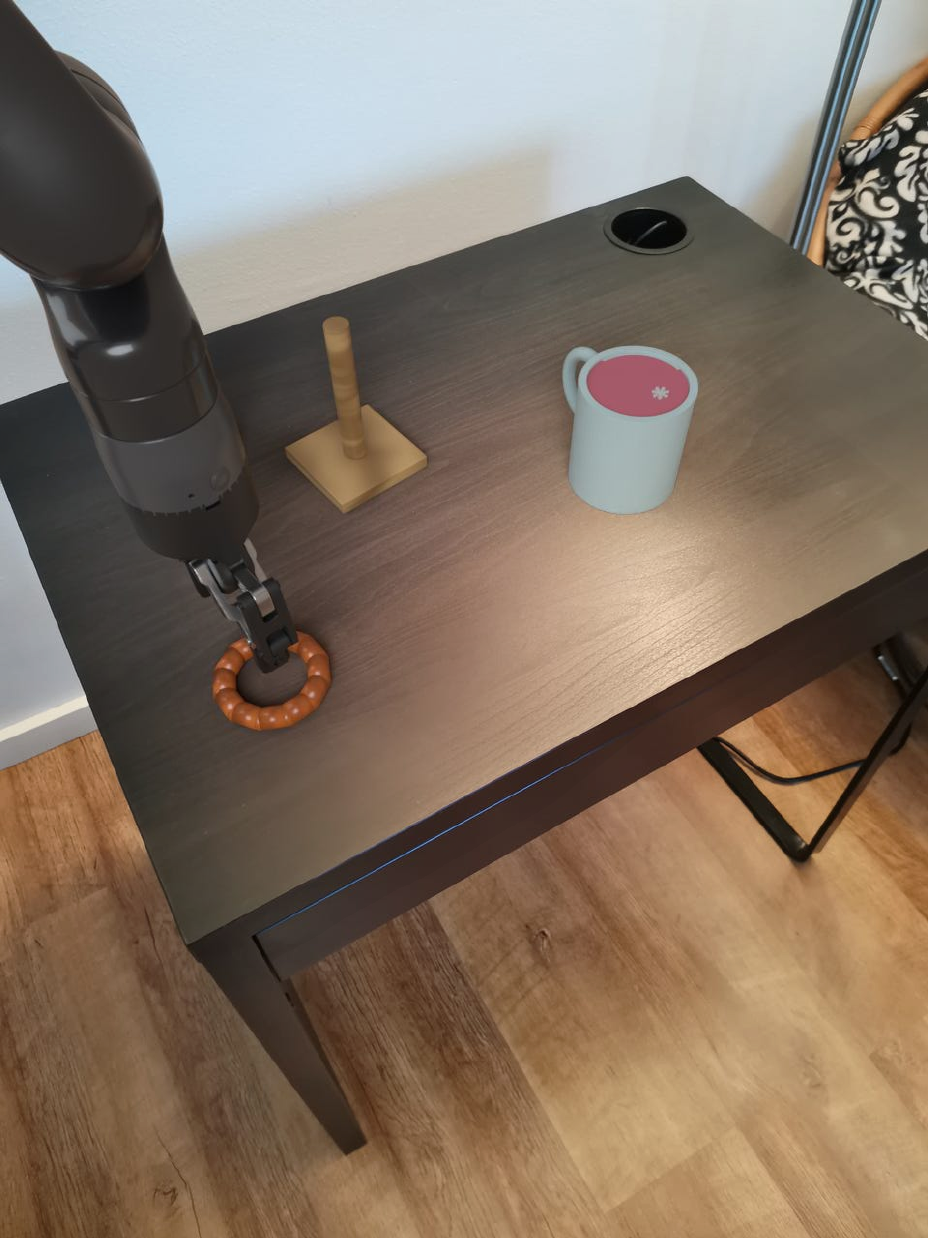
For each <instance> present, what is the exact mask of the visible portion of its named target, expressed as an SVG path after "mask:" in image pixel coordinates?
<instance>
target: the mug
mask: <svg viewBox="0 0 928 1238" xmlns="http://www.w3.org/2000/svg"><path fill="white" fill-rule="evenodd" d="M580 362H585V363H584V364H583V365H582V367H581V369H580V371H579V374H578V379H577V378H576V377H577V376H576V374H577V373H576V372H577V366H578V364H579V363H580ZM561 372H562V374H561V376H562V377H561V379H562V380H561V381H562V387H563V391H564V395H565V399H566V401H567V403H568V406H569V408H570V410H571V411H572V413H573V415H574V418H573V425H572V426H573V427H572V435H571V442H570V443H571V444H570V453H569V460H568V461H569V462H568V473H567V475H568V476H567V477H568V482H569V485H570V486H571V489H572V490H573V492H574V493H575V494H576V495H577V496H578V498H580V499H581V500H582V501H583V502H584V503H586V504H587V505H589V506H591V507H592V508H595V509H597V510H600V511H603V512H606V513H611V514H617V515H618V514H619V515H635V514H642V513H646V512H649V511H651V510H653V509H655V508H658V507H659V506H660V505H662V504H663V503H664V502H666V501H667V500H668V499H669V498H670V496H671V495H672V493H673V491H674V488H675V485H676V480H677V477H678V472H679V470H680V469H679V468H680V465H681V461H682V457H683V452H684V450H685V449H684V448H685V446H686V445H685V444H686V441H687V436H688V434H689V433H688V432H689V429H690V424H691V420H692V417H693V412H694V408H695V404H696V400H697V397H698V392H699V384H698V383H699V381H698V379H697V376H696V374H695V371H693V370H692V368H691V367H690V366H689V365H688V364H687V363H686V362H685V361H683V360H682V359H681V358H680V357H678V356H676V355H675V354H672V353H670V352H668V351H665V350H663V349H660V348H656V347H650V346H645V345H622V346H616V347H611V348H609V349H605V350H603V351H601V352H597V351H595V349H593V348H591V347H588V346H578V347H575V348H573V349H572V350H571V351H570V352H569V353H567V355H566V357H565V359H564V361H563V365H562V370H561Z"/></svg>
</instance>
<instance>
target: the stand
mask: <svg viewBox="0 0 928 1238" xmlns="http://www.w3.org/2000/svg"><path fill="white" fill-rule="evenodd" d="M322 331H323V337H324V338H323V339H324V344H325V349H326V354H327V360H328V366H329V373H330V380H331V384H332V390H333V397H334V402H335V408H336V409H335V410H336V414H337V419H336V420H334V421H332V422H331V423H329V424H327V425H325V426H323V427H320V428H319V429H317V430H315V431H314V432H311V433H310V434H308V435H306V436H304V437H302V438H300V439H298V440H296V441H295V442H293V443H291V444H289V445H287V446H284V452H285V456H286V458H287V459H288V460H289V462H291V464H292V465H294V466H295V467H296V468H297V470H299V471H300V472H301V473H302V474H303V475H304V476H305V477H306V479H308V481H310V482H311V483H312V484H313V485H314V486H315V487H316V488H317V489H318V490H319V491H320V492H321V493H322V494H323V495H324V496H325V497H326V498H327V499H328V500H329V501H330V502H331V503H332V504H333V505H335V507H336V508H337V509H338V510H339V511H340V512H341V513H342V514H343V515H346V514H347V513H348V512H350V511H352V510H354V509H356V508H357V507H359V506H361V505H363V504H364V503H366V502H368V501H369V500H371V499H373V498H376V496H378V495H380V494H381V493H383V492H385V491H387V490H389V489H390V488H392V487H394V486H395V485H397V484H399V483H400V482H402V481H404V480H406V479H408V478H409V477H411V476H413V475H415V474H417V473H418V472H420V471H421V470H423V469H425V468H427V467H428V465H429V464H428V456H427V455H426V454H425V453H424V452H423V451H422V450H421V449H419V448H418V447H417V446H416V445H415V444H414V443H412V441H411V440H410V439H408V438H407V437H406V436H404V435H403V434H402V433H401V431H399V430H398V429H397V428H395V427H394V426H393V425H392V424H391V423H390V422H389V421H388V420H386V419H385V418H384V417H383V416H382V415H380V414H379V413H378V412H377V411H376V410H375V409H374V408H373V407H372V406H370V405H369V404H365V405H363V406H361V399H360V391H359V386H358V385H359V384H358V378H357V372H356V371H357V370H356V364H355V363H356V362H355V357H354V349H353V342H352V335H351V327H350V322H349V320H348V319H347V318H345V317H343V316H331V317H329V318H327V319H325V320H324V321H323V322H322Z"/></svg>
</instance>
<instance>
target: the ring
mask: <svg viewBox="0 0 928 1238" xmlns="http://www.w3.org/2000/svg"><path fill="white" fill-rule="evenodd" d="M295 631H296V633H297V634H298V639H299V642H297V643H296V644H294V645H291V646H290V647H288V648H287V649H288V652H291V653H295V654H297V655H298V656H299V657H300V658H301V659H302V660H303V662H304V663H305V664H306V668H307V679H306V681H305V683H304V685H303V686H302V689H301V690H300V692H299V693H298V694H296V695H295V696H293V697H292V698H291V699H289V700H287V701H286V702H284V703H283V704H277V705H272V706H271V705H269V706H265V707H261V706H258V705H255V704H252V703H249V702H248V701H245V700H244V699H243V697H242V696H241V695H240V693H239V692H238V691H237V676H238V674H239V673H240V671H241V669H242V668H243V666H244V664H245V663H246V662H247V661H249V660H250V659H252V658H254V657H253V654H252V652H251V649H250V647H249V646H248V644H247V643H246V641H245V639H246V638H245V637H244V636H243V637H242V638H240V639H238V640H236V641H234V642H233V643H232V644H230V645H229V646H228V647H227V648H226V650H225V651H224V653H223V655H222V656H221V658H220V659H219V661H218V662H217V663H216V665H215V667H214V669H213V671H212V672H213V674H212V698H213V700H214V702H215V703H216V704H217V707H219V708H220V710H221V711H222V713H223V714H224V715H225V716H226V718H227V719H228V720H229V721H230V722H232V723H234V724H238V725H240V726H243V727H246V728H249V729H251V730H255V731H258V732H263V731H268V730H276V729H277V730H278V729H283V728H290V727H292V726H294V725H295V724H297V723H298V722H300V721H301V720H303V719H304V718H306V717H307V716H309V715H310V714H312V713H313V712H314V711H316V710H317V709H318V708H319V706H320V704H321V703H322V701H323V698H324V697H325V695H326V693H327V691H328V690H329V688H330V685H331V682H332V679H331V668H330V657H329V654H328V653H327V651H325V649H323V647H322V646H321V645H320V644H319V643H318V642H317V641H316V639H315V638H314V637H313V636H312V635H310V634H308V633H305V632H302V631H298V630H296V629H295Z"/></svg>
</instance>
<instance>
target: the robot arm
mask: <svg viewBox="0 0 928 1238" xmlns="http://www.w3.org/2000/svg"><path fill="white" fill-rule="evenodd" d="M164 223H165V207H164V198H163V192H162V187H161V185H160V180H159V177H158V175H157V172H156V170H155V167H154V164H153V163H152V160H151V158H150V156H149V154H148V152H147V150H146V147H145V144H144V143H143V141H142V139H141V138H140V135H139V132H138V129H137V127H136V125H135V123H134V121H133V119H132V117H131V114H130V112H129V111H128V109H127V107H126V106H125V104H124V102H123V101H122V99H121V98H120V96H119V95H118V94H117V92H116V91H115V90H114V89H113V88H112V87H111V85H109V83H108V82H107V81H106V80H105V79H103V78H102V76H100V75H99V73H97V72H96V71H95V70H94V69H93V68H91V67H90V66H88V65H87V64H85V63H84V62H82V61H80V60H79V59H77V58H76V57H74V56H72V55H69V54H68V53H65V52H63V51H60V50H57V49H54V48H53V47H52V45H51V44H50V43H49V42H48V40H46V38H45V37H44V36H43V35H42V34H41V32H40V31H39V30H38V29H37V28H36V26H35V25H34V23H32V22H31V20H30V19H29V18H28V17H27V15H26V14H25V13H24V12H23V11H22V10H21V8H20V7H19V6H18V5H17V4H16V2H15V1H14V0H0V255H1V256H2V257H3V258H5V260H7V261H9V262H10V263H11V264H12V265H14V266H15V267H17V268H18V269H20V270H22V271H23V272H25V273H26V274H28V276H29V278H30V280H31V282H32V283H33V286H34V288H35V290H36V292H37V294H38V296H39V299H40V302H41V304H42V307H43V311H44V314H45V318H46V321H47V326H48V329H49V333H50V336H51V340H52V341H51V342H52V344H53V348H54V350H55V353H56V356H57V359H58V362H59V364H60V367H61V369H62V371H63V374H64V377H65V378H66V380H67V381H68V384H69V386H70V387H71V390H72V392H73V394H74V396H75V398H76V400H77V402H78V404H79V406H80V408H81V411H82V412H83V414H84V416H85V420H86V422H87V424H88V427H89V429H90V432H91V435H92V439H93V443H94V446H95V449H96V451H97V455H98V456H99V459H100V461H101V463H102V466H103V467H104V469H105V471H106V473H107V475H108V477H109V480H110V481H111V484H112V485H113V488H114V490H115V492H116V494H117V495H118V498H119V500H120V502H121V504H122V505H123V508H124V510H125V512H126V513H127V515H128V518H129V520H130V521H131V524H132V526H133V529H134V530H135V532H136V535H137V536H138V538H139V539H140V540H141V542H142V543H143V544H144V546H146V547H147V548H148V549H149V550H151V551H152V552H154V553H156V554H158V555H160V556H163V557H165V558H169V559H173V560H178V562H179V563H183V564H184V565H185V567H186V570H187V572H188V575H189V577H190V579H191V581H192V583H193V585H194V587H195V589H196V591H197V593H198V594H199V595H200V597H202V598H203V599H207V598H209V597H211V598H212V599H213V602H214V603H215V605H216V607H217V608H218V609H219V612H220V613H221V615H222V616H223V617H224V618H225V619H227V620H229V621H231V622H235V623H236V625H237V626H238V628H239V630H240V631H241V633H242V635H243V637H245V638H246V639H245V641H246V643H247V644H248V646H249V647H250V649H251V652H252V654H253V657H252V658H254V662H255V665H256V666H257V668H258V669H259V670H260V671H261V673H262V674H269V673H273V672H274V671H276V670H278V669H279V668H280V667H281V668H282V666H284V665H286V664H287V663H289V659H290V656H291V655H290V651H288V649H287V648H288V647H290V646H291V645H294V644H296V643H297V642H299V639H298V634H297V633H296V631H297V630H296V628H295V624H294V622H293V620H292V617H291V614H290V610H289V608H288V605H287V602H286V600H285V596H284V595H283V591H282V586H281V584H280V582H279V581H278V580H276V579H275V578H274V577H273V576H269V577H267V575H266V573H265V572H264V570H263V568H262V567H261V565H260V564H259V562H258V560H257V557H258V551H257V550H256V548H255V546H254V545H253V543H252V541H251V540H250V538H249V535H250V532H251V531H252V529H253V527H254V525H255V523H256V522H257V520H258V517H259V513H260V507H261V502H260V495H259V491H258V488H257V486H256V481H255V478H254V475H253V472H252V468H251V465H250V462H249V459H248V455H247V453H246V449H245V445H244V443H243V440H242V437H241V433H240V430H239V427H238V423H237V420H236V416H235V414H234V411H233V409H232V406H231V405H230V403H229V400H228V399H227V397H226V395H225V393H224V391H223V389H222V386H221V384H220V381H219V379H218V375H217V371H216V369H215V367H214V363H213V360H212V356H211V354H210V350H209V347H208V343H207V341H206V338H205V335H204V332H203V330H202V329H203V328H202V327H201V324H200V321H199V319H198V316H197V314H196V311H195V310H194V307H193V305H192V302H191V300H190V298H189V297H188V295H187V293H186V291H185V289H184V287H183V285H182V282H181V281H180V279H179V277H178V274H177V272H176V270H175V269H176V268H175V267H174V264H173V261H172V257H171V254H170V250H169V247H168V244H167V241H166V237H165V233H164V225H165V224H164ZM239 589H240V590H241V592H242V593H241V594H239V595H238V596H236V597H235V600H236V601H235V602H234V603H231V604H230V603H229V601H228V600H227V599H226V597H225V595H230V594H233V593H234V592H236V591H238V590H239ZM295 630H296V631H295Z"/></svg>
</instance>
